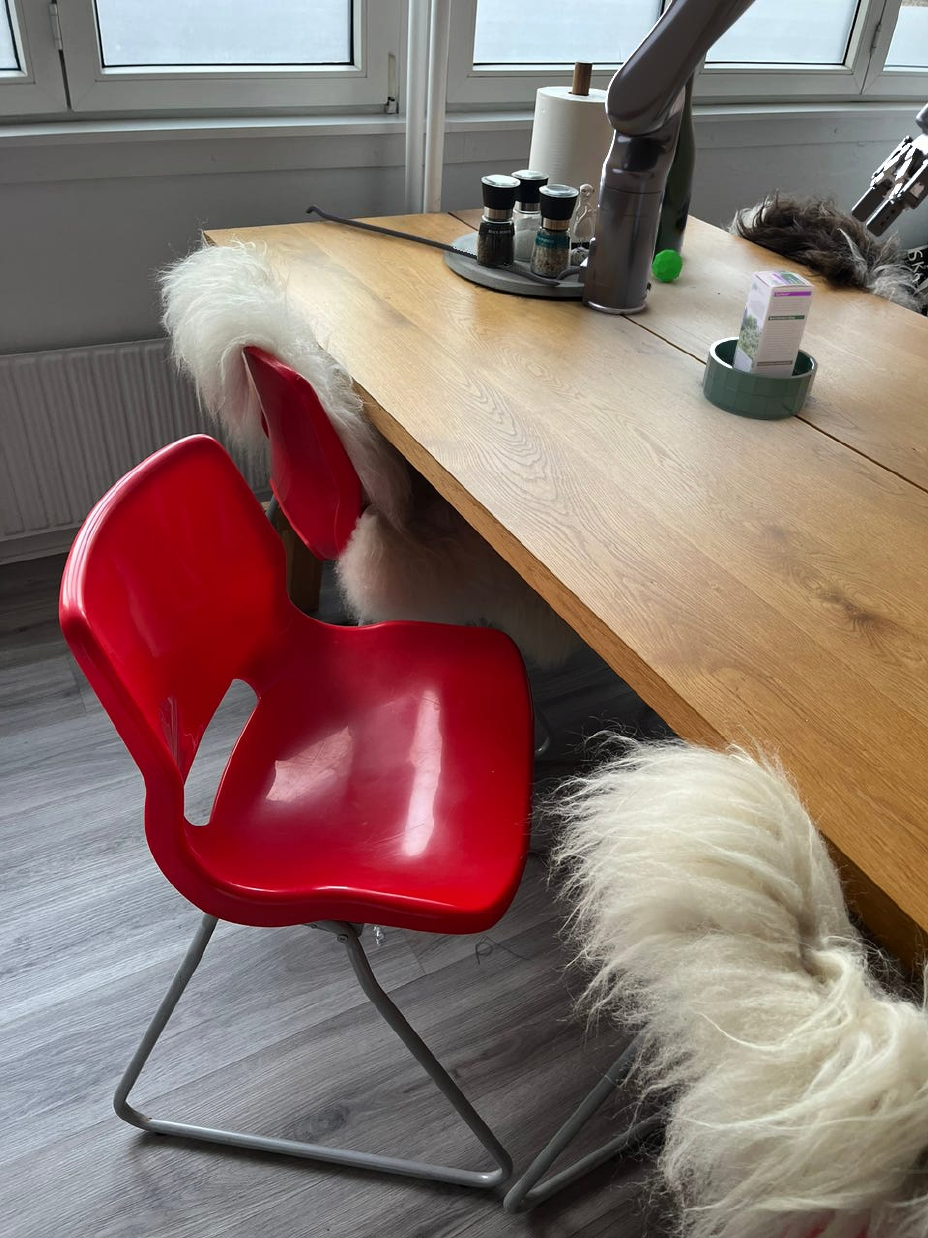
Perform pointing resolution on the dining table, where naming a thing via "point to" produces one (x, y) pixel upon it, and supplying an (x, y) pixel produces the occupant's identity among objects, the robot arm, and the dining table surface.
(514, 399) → the dining table surface
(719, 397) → the crock
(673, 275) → the polyhedron
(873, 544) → the dining table surface
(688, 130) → the beer bottle
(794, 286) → the syrup box
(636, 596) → the dining table surface
